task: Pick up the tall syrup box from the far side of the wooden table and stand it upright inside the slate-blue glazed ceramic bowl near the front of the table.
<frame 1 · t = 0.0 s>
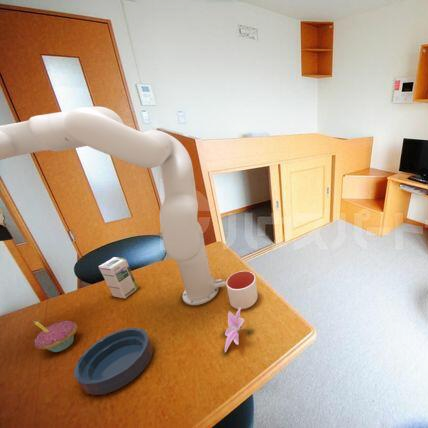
bowl: (120, 365, 67), on the table
lily: (236, 338, 75), on the table
syrup box: (126, 292, 92), on the table
cupcake: (63, 344, 72), on the table
cup: (244, 301, 89), on the table
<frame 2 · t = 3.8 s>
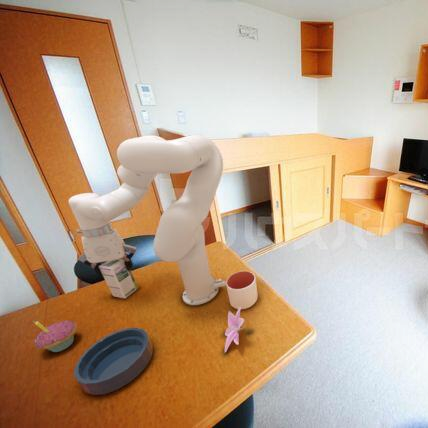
hand: (116, 271, 87), 10 cm above the table, tool pointing down, fingers closed on syrup box, 7 cm apart
syrup box: (126, 292, 92), on the table, touching gripper
everything else where it was.
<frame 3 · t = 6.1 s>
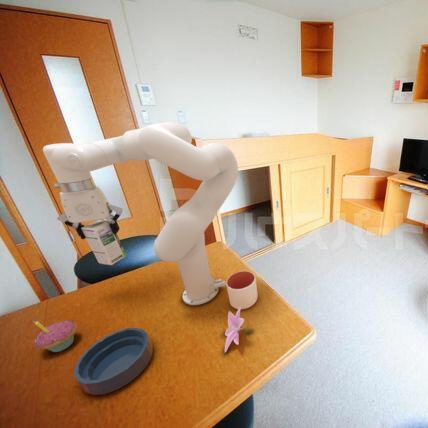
hand: (101, 234, 80), 26 cm above the table, tool pointing down, fingers closed on syrup box, 7 cm apart
syrup box: (113, 260, 85), point 16 cm above the table, touching gripper
everything else where it was.
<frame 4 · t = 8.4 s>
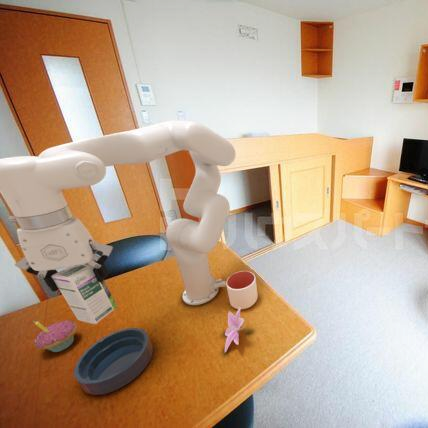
hand: (81, 282, 57), 28 cm above the table, tool pointing down, fingers closed on syrup box, 7 cm apart
syrup box: (98, 314, 61), point 17 cm above the table, touching gripper
everything else where it was.
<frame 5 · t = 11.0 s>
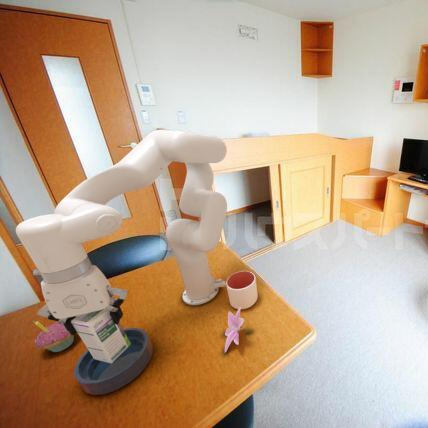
hand: (98, 324, 60), 16 cm above the table, tool pointing down, fingers closed on syrup box, 7 cm apart
syrup box: (113, 352, 64), point 6 cm above the table, touching gripper
everything else where it was.
when the fingers open (11 cm above the table, at t = 12.9 s): syrup box stays where it is, resting on bowl.
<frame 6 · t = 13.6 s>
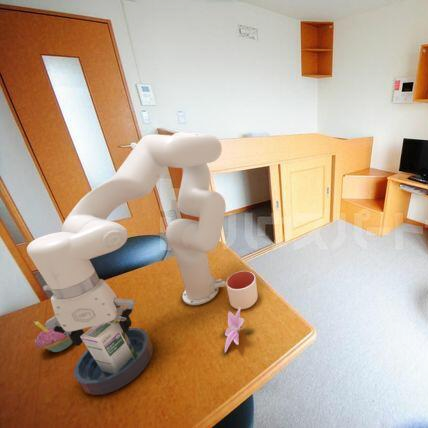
hand: (105, 334, 62), 12 cm above the table, tool pointing down, fingers open, 9 cm apart
syrup box: (120, 364, 67), resting on bowl
everything else where it was.
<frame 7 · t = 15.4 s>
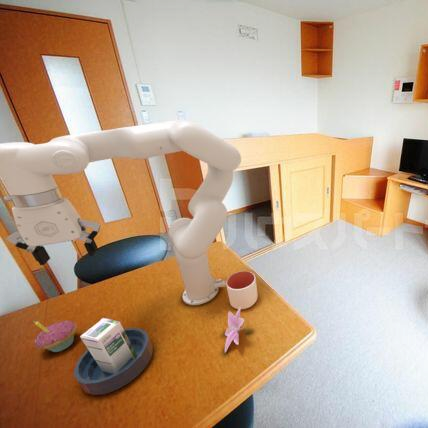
hand: (70, 257, 63), 30 cm above the table, tool pointing down, fingers open, 9 cm apart
nothing on the table moved.
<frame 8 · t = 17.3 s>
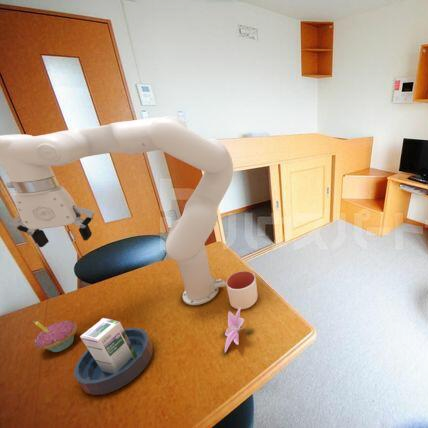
hand: (66, 241, 69), 30 cm above the table, tool pointing down, fingers open, 9 cm apart
nothing on the table moved.
at the end: syrup box inside the target area in the bowl (0.1 cm from its centre), point 0.4 cm above the bowl's base; syrup box tilted 0°; the gripper is holding nothing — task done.
